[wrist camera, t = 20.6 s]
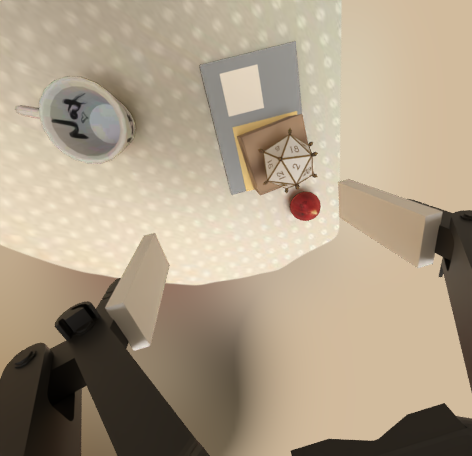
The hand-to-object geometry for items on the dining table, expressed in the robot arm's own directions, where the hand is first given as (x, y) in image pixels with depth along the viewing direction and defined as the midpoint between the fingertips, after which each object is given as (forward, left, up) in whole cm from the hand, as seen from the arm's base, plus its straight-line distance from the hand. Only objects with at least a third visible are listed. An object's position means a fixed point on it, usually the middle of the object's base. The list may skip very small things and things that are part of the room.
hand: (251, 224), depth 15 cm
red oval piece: (+12, +15, -31) cm, 36 cm away
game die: (+1, +10, -23) cm, 25 cm away
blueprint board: (-5, +9, -30) cm, 32 cm away
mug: (-12, -18, -31) cm, 38 cm away
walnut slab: (0, +10, -29) cm, 30 cm away
